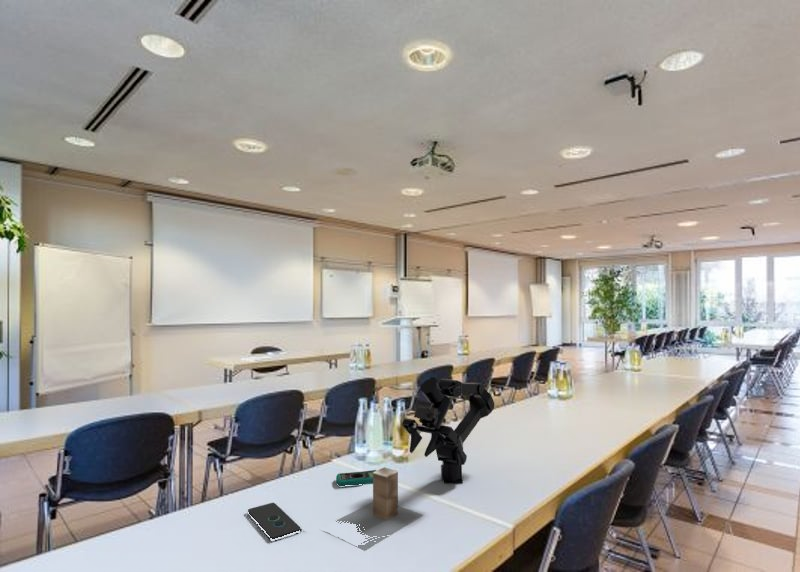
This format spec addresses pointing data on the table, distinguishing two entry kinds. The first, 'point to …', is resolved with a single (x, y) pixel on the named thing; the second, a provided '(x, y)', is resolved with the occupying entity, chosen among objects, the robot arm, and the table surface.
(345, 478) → the digital multimeter
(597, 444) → the table surface
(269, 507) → the dark grey notebook
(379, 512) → the walnut block
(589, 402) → the table surface
